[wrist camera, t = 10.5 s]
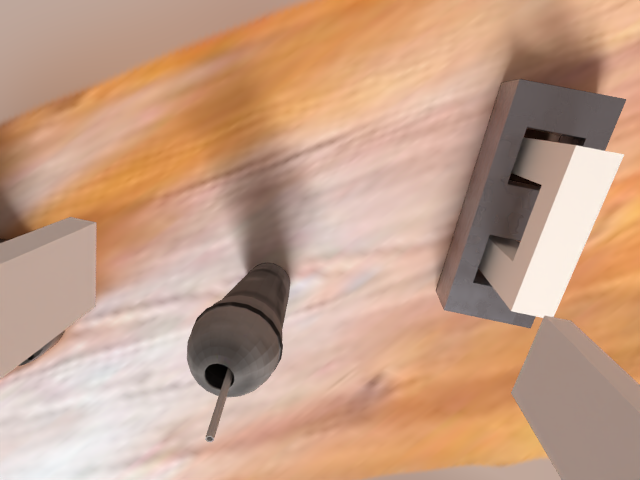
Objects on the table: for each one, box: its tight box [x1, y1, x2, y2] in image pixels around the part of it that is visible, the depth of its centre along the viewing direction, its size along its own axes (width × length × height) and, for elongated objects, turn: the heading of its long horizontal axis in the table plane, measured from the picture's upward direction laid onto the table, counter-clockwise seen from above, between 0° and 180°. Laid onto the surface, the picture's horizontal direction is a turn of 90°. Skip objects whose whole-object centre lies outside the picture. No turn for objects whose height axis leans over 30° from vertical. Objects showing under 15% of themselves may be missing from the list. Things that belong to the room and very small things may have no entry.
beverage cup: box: [187, 263, 290, 442], centre depth 32 cm, size 7×7×20 cm
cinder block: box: [436, 79, 626, 328], centre depth 34 cm, size 8×20×4 cm, turn 170°
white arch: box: [478, 137, 624, 318], centre depth 31 cm, size 12×3×10 cm, turn 170°
